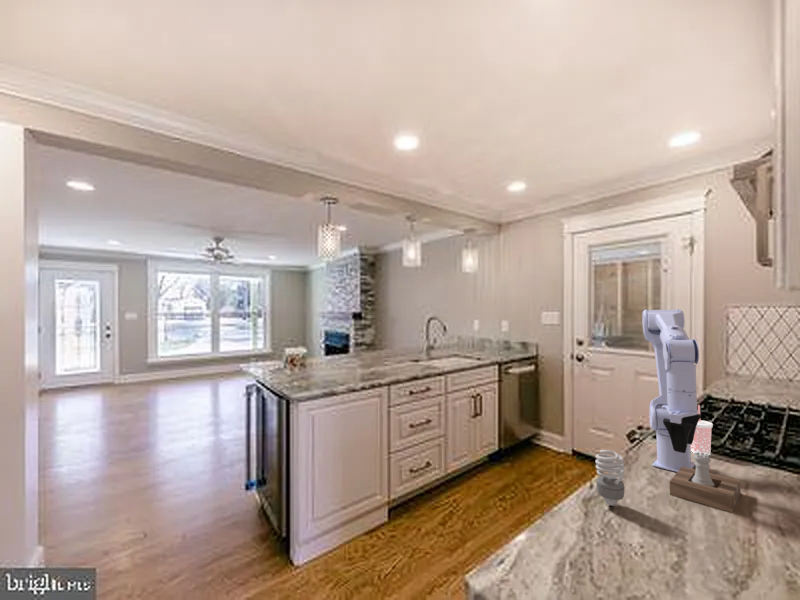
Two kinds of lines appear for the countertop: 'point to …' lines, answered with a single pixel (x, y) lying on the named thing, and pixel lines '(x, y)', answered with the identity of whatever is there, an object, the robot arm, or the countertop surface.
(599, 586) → the countertop surface
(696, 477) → the rook chess piece
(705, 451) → the beverage cup
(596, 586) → the countertop surface
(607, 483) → the light bulb
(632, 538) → the countertop surface
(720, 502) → the socket block
